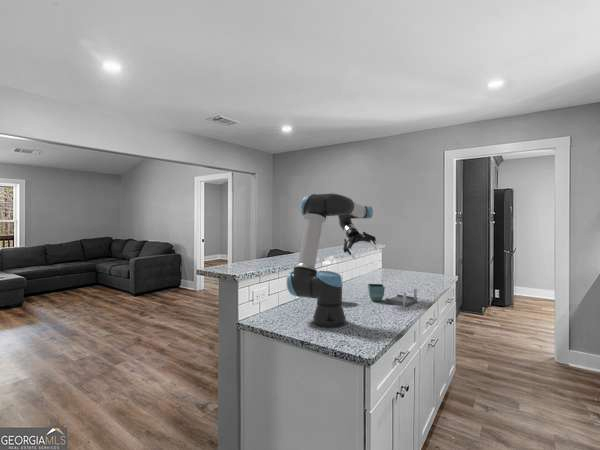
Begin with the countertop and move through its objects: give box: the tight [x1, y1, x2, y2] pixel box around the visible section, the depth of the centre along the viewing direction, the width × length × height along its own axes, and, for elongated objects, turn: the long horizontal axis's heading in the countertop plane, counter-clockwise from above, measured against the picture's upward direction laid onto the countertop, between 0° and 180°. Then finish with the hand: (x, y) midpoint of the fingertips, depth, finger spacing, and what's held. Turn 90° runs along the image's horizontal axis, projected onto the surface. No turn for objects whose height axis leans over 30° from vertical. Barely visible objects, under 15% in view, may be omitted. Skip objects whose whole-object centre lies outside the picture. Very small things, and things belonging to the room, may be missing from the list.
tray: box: [385, 288, 418, 307], centre depth 186 cm, size 15×12×8 cm
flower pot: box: [367, 283, 386, 302], centre depth 191 cm, size 9×9×9 cm
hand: (364, 252), depth 186 cm, fingers open, 13 cm apart
